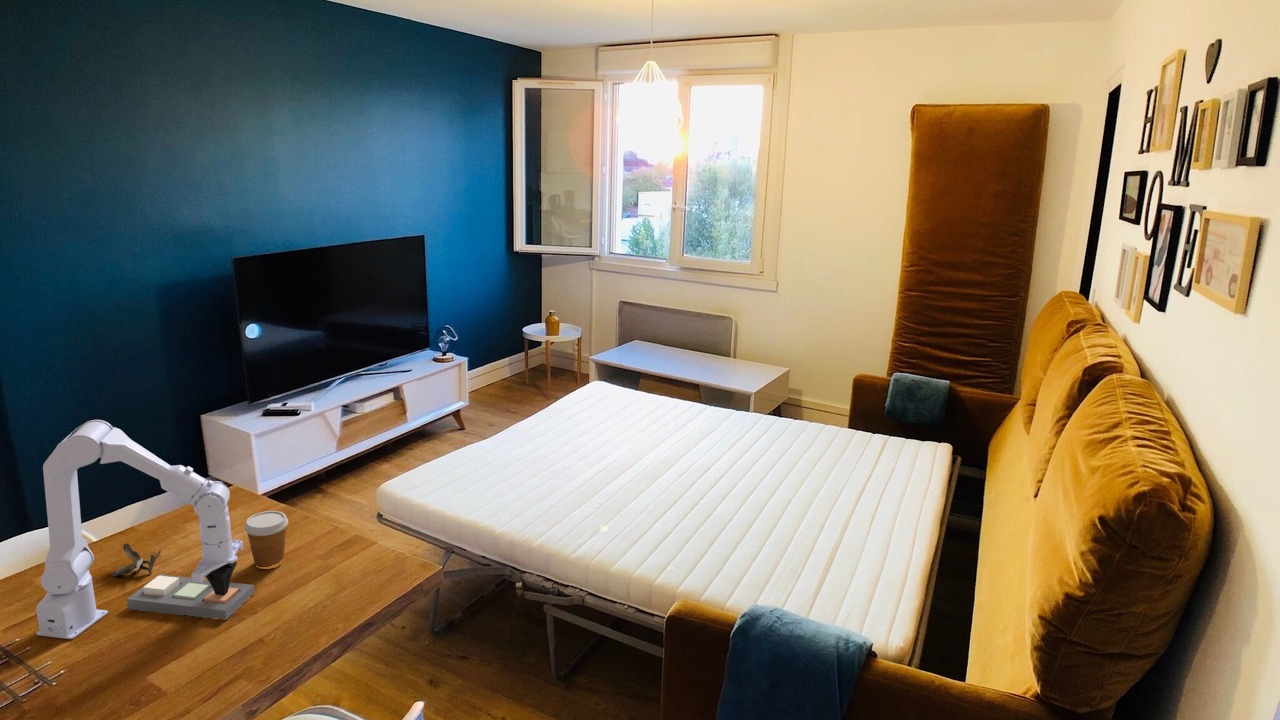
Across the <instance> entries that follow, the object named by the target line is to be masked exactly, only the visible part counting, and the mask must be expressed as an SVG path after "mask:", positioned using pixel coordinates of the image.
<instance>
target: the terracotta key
mask: <svg viewBox="0 0 1280 720" xmlns="http://www.w3.org/2000/svg"><path fill="white" fill-rule="evenodd" d="M238 592H239V589H238V588H229V589H228V593H226V594H225V595H224V596H223V595H216V594H215V592H214V590H213V591H212V592H211V593H210V594H208V595H207V596H206V597H205V598H204V601H205V602H213V603H222V604H226V603H227V602H228V601H229V600H231V599H232V598H233V597H234V596H235V595H236V594H237V593H238Z"/></svg>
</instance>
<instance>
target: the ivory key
mask: <svg viewBox="0 0 1280 720" xmlns="http://www.w3.org/2000/svg"><path fill="white" fill-rule="evenodd" d="M157 576H158V575H157ZM157 576H156V577H155V579H154V578H153V579H154V580H153V579H152V580H150V581H151V582H150V581H149V582H148V583H146V584H147V585H146V584H145V585H144V586H142V587H143V590H144V594H145V595H154V596H162V597H165V596H167V595H168V594H169V593H170V592H172V591H173V590H174V589H176V588H177V587H178V586H179V585H180V581H179V578H177V577H168V576H158V577H157Z"/></svg>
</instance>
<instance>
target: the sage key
mask: <svg viewBox="0 0 1280 720" xmlns="http://www.w3.org/2000/svg"><path fill="white" fill-rule="evenodd" d="M208 589H209V585H203V584H195V583H188V584H187V585H185V586H184V587H183V588H182V589H180V590H179V591H178V592H177V593H175V594H174V598H179V599H188V600H196V599H197V598H199V597H200V596H201V595H202V594H203V593H205V592H206V591H207V590H208Z"/></svg>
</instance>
